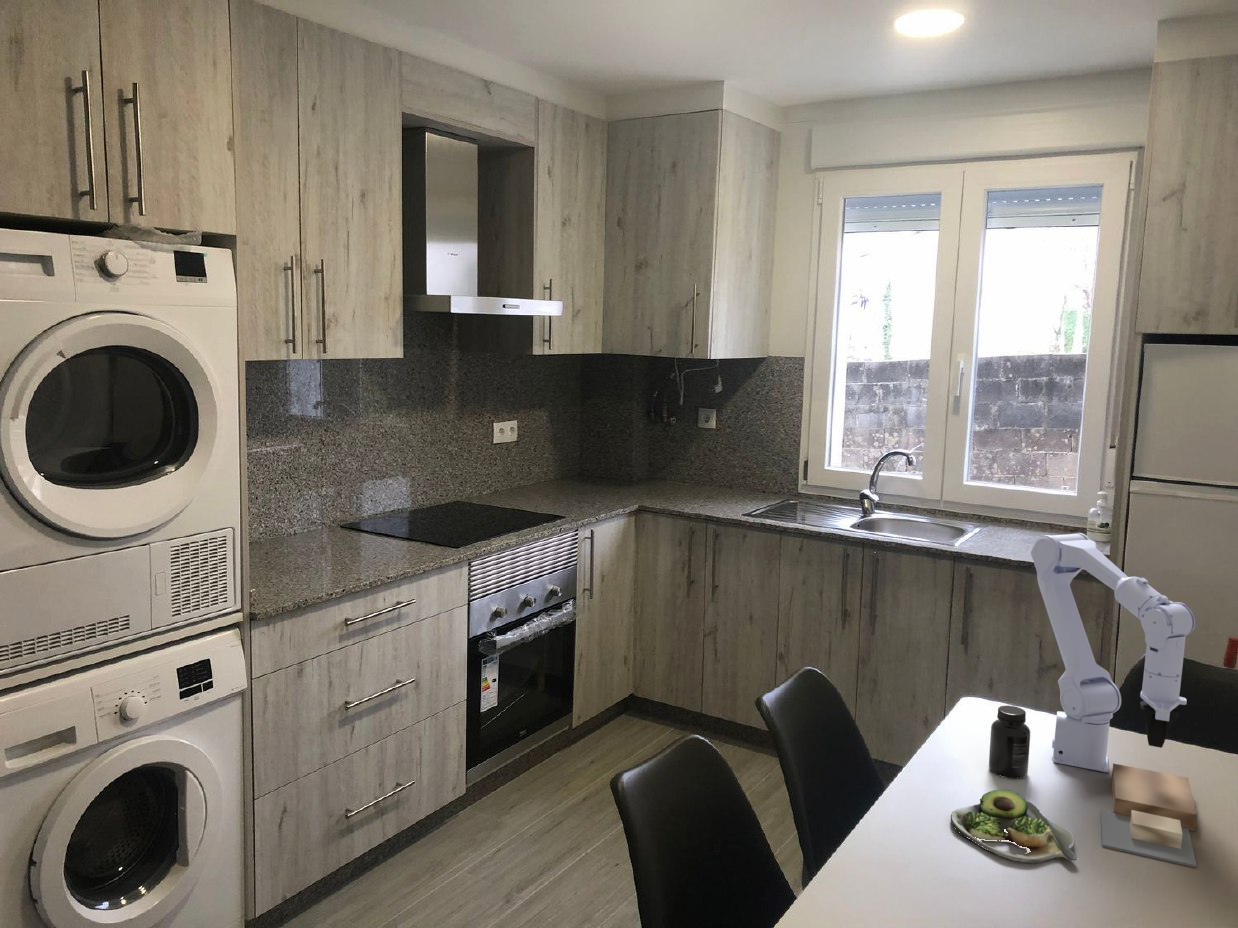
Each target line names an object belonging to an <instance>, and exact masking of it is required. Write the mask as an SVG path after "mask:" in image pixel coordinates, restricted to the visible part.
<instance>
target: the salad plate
mask: <svg viewBox="0 0 1238 928" xmlns="http://www.w3.org/2000/svg"><path fill="white" fill-rule="evenodd" d="M979 801H980V802H979V803H978V804H974V805H969V806H965V807H961V808H957V809H955V810H953V811H952V812H951V814H950V822H951V825H952V827H953V828H954V827H955V828H956V829H955V828H954V829H955V831H957V832H958V833H959V832H960V833H961V834H962V835H963V836H965V837H968V838H970V839H971V840H973V841H974V842H976V843H977V844H979V845H980V846H979V845H978V846H979V847H981V846H983V847H984V848H986V849H988V850H990V851H992V852H994V853H993V854H995V853H996V854H995V855H997V854H998V855H997V856H999V857H1001V856H1002V857H1001V858H1003V857H1005V858H1004V859H1006V858H1008V859H1007V860H1009V859H1011V860H1010V861H1012V860H1015V861H1014V862H1017V861H1020V862H1019V863H1023V862H1028V863H1027V864H1038V862H1040V863H1043V862H1042V861H1044V862H1047V861H1050V860H1053V858H1054V859H1058V858H1065V859H1067V860H1068V861H1077V860H1078V857H1077V855H1076V854H1075V853H1074V851H1073V850H1072V848H1073V847H1074V846H1075V842H1074V841H1075V840H1074V836H1073V833H1072V832H1071V831H1070V830H1069V829H1066V828H1065V827H1063V826H1062V825H1060V824H1058V823H1057V822H1054V821H1053V820H1050V819H1048V818H1047V817H1045V816H1044V815H1043V814H1042V813H1041V812H1040V811H1041V810H1040V809H1039V808H1038V807H1037V806H1036V805H1035V804H1033V803H1032V802H1031V801H1028V800H1026V799H1025V797H1023V796H1022V794H1019V793H1018V792H1015V791H1012V790H1010V789H994V790H990V791H987V792H986V793H984V794H982V795H981V798H979ZM1004 829H1006V831H1007V832H1008V833H1006V832H1004ZM960 833H959V834H960ZM961 834H960V835H961ZM962 835H961V836H962ZM963 836H962V837H963ZM965 837H964V838H965ZM975 837H976V838H975ZM977 838H979V839H985V840H997V841H999V840H1000V841H1001V840H1009V841H1011V842H1015V843H1016V844H1017V845H1019V846H1022V847H1027V848H1029V849H1030V851H1031V852H1029V853H1027V854H1024V853H1023V854H1024V855H1023V854H1017V853H1013V852H1009V851H1006V850H1001V849H998V848H995V847H992V846H990V845H988V844H986V843H984V842H983V841H982V842H983V843H982V842H981V841H979V840H977ZM974 842H973V843H974ZM977 844H976V845H977ZM984 848H983V849H984ZM986 849H985V850H986ZM988 850H987V851H988ZM990 851H989V852H990ZM992 852H991V853H992ZM1049 859H1050V860H1049ZM1046 860H1047V861H1046Z"/></svg>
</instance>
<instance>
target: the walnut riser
mask: <svg viewBox="0 0 1238 928" xmlns="http://www.w3.org/2000/svg"><path fill="white" fill-rule="evenodd" d="M1111 770H1112V772H1111V789H1112V790H1111V791H1112V805H1113V806H1112V807H1113V813H1116V814H1121V815H1125V816H1130V817H1131V811H1132V810H1134V811H1139V812H1144V813H1148V814H1153V815H1158V816H1162V817H1167V818H1172V819H1177V820H1180V823H1181V827H1182V828H1187V829H1189V832H1196V828H1197V819H1198V813H1197V812H1198V811H1197V809H1196V805H1195V800H1194V795H1193V792H1192V788H1191V783H1190V780H1189V777H1186V776H1182V775H1176V774H1170V773H1165V772H1161V771H1155V770H1148V769H1144V768H1140V767H1134V766H1129V765H1123V764H1120V763H1119V764H1118V763H1112V769H1111Z"/></svg>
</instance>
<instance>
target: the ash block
mask: <svg viewBox="0 0 1238 928" xmlns="http://www.w3.org/2000/svg"><path fill="white" fill-rule="evenodd" d="M1130 829H1131V838H1134V839H1139V840H1143V841H1147V842H1152V843H1156V844H1161V845H1165V846H1170V847H1174V848H1179V849H1181V843H1182V829H1181V823H1180V820H1177V819H1172V818H1167V817H1162V816H1158V815H1153V814H1148V813H1144V812H1139V811H1134V810H1132V811H1131V821H1130Z"/></svg>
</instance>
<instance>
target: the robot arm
mask: <svg viewBox="0 0 1238 928" xmlns="http://www.w3.org/2000/svg"><path fill="white" fill-rule="evenodd" d="M1030 556H1031V557H1032V558H1031V559H1032V561H1033V564H1034V567H1035V570H1036V576H1037V577H1036V579H1037V584H1038V587H1039V591H1040V594H1041V597H1042V600H1043V603H1044V606H1045V610H1046V613H1047V615H1048V618H1049V622H1050V624H1051V628H1052V631H1053V633H1054V637H1055V640H1056V643H1057V646H1058V649H1059V653H1060V656H1061V659H1062V661H1063V664H1064V669H1065V670H1064V672H1063V673H1062V675H1061V676H1060V678H1058V680H1057V683H1058V685H1059V686H1058V688H1059V701H1060V705H1061V707H1062V709H1063V711H1059V710H1058V711H1056V719H1055V729H1054V730H1055V731H1054V738H1052V744H1051V748H1052V749H1053V753H1052V754H1053V755H1052V762H1053V763H1057V764H1061V765H1066V766H1071V767H1077V768H1082V769H1088V770H1092V771H1099V772H1102V773H1108V772H1109V756H1108V744H1109V742H1108V741H1109V733H1110V725H1111V724H1110V722H1111V719H1113V717H1114V713H1116V712H1117V711H1119V709H1120V708H1121V706H1122V695H1121V692H1120V690H1119V689H1120V688H1118V687H1117V685H1116V684H1115V683H1114V681H1113V680H1112V677H1111V674H1110V672H1109V671H1107V670H1106V669H1105V668H1104V667H1101V665H1099V664H1098V663H1096V659H1095V656H1094V653H1093V650H1092V647H1091V645H1090V642H1089V639H1088V635H1087V632H1086V630H1085V627H1084V623H1083V621H1082V618H1081V615H1080V612H1079V609H1078V606H1077V603H1076V600H1075V597H1074V593H1073V591H1072V588H1071V583H1072V581H1073V580H1074V578H1075V577H1077V575H1078V574H1079V573H1080V572H1081V571H1082V570H1085V572H1087V573H1089V574H1090V575H1092V576H1093V577H1094V578H1096V579H1097V580H1098V581H1099V582H1101V583H1103V584H1104V585H1106V586H1107V587H1109V588H1110V589H1112V590H1113V591H1114V598H1115V601H1116V602H1118V603H1119V604H1120V605H1121V606H1122V607H1124V608H1125V609H1127V611H1129V612H1130V613H1131V614H1132V615H1134V616H1135V618H1137V619H1138V620H1140V624H1141V628H1142V629H1143V632H1144V637H1145V638H1144V642H1145V644H1146V650H1145V656H1144V657H1145V659H1144V667H1143V668H1144V669H1143V678H1142V687H1141V691H1140V694H1139V697H1140V698H1141V699H1142V701H1140V704H1139V705H1140V709H1141V712H1142V715H1143V717H1144V721H1145V725H1146V735H1147V736H1146V737H1147V743H1148V746H1151V747H1155V748H1159V749H1160V748H1161V749H1162V748H1163V746H1164V744H1165V741H1166V738H1167V735H1168V732H1169V730H1170V728H1171V726H1172V725H1173V723H1174V722H1175V721H1176V720H1177V719H1178V717H1179V713H1178V708H1177V707H1178V706H1179V705H1181V706H1182V705H1183V706H1185V705H1187V704H1188V703H1187V700H1188V699H1187V698H1186V697H1183V696H1180V692H1181V686H1182V685H1181V683H1182V675H1183V665H1184V656H1185V648H1186V647H1185V646H1186V638H1187V637H1186V636H1189V635H1190V634H1191V633H1193V631H1194V630H1195V627H1196V618H1195V616H1194V613H1193V611H1192V610H1191V609H1190V607H1188V606H1187V604H1185V603H1183V602H1181V601H1180V602H1178V601H1177V602H1176V601H1175V602H1174V601H1172V600H1169V597H1167V596H1166V595H1164V594H1163V595H1162V594H1161V593H1160V592H1158V590H1156V589H1155V588H1153V586H1151V585H1149V581H1148V580H1147V579H1146V578H1144V577H1139V576H1128V575H1126V573H1124V572H1123V571H1122V570H1121V569H1120V568H1119V567H1118V566H1117V565H1115V564H1114V563H1113V562H1112V561H1111V560H1110V559H1109V558H1107V556H1106V555H1105V554H1103V553H1102V552H1101V551H1100V550H1099V549H1098V547H1097V543H1096V541H1094V540H1092V539H1091V538H1089V537H1088V536H1087V535H1086V534H1084V533H1082V532H1075V533H1071V534H1070V533H1069V534H1068V533H1067V534H1055V535H1054V534H1053V535H1048V534H1045V535H1043V534H1042V535H1039V537H1038V538H1037V539H1036V540H1035V542H1034V543H1033V546H1032V549H1031V551H1030ZM1081 682H1084V683H1081Z"/></svg>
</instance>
